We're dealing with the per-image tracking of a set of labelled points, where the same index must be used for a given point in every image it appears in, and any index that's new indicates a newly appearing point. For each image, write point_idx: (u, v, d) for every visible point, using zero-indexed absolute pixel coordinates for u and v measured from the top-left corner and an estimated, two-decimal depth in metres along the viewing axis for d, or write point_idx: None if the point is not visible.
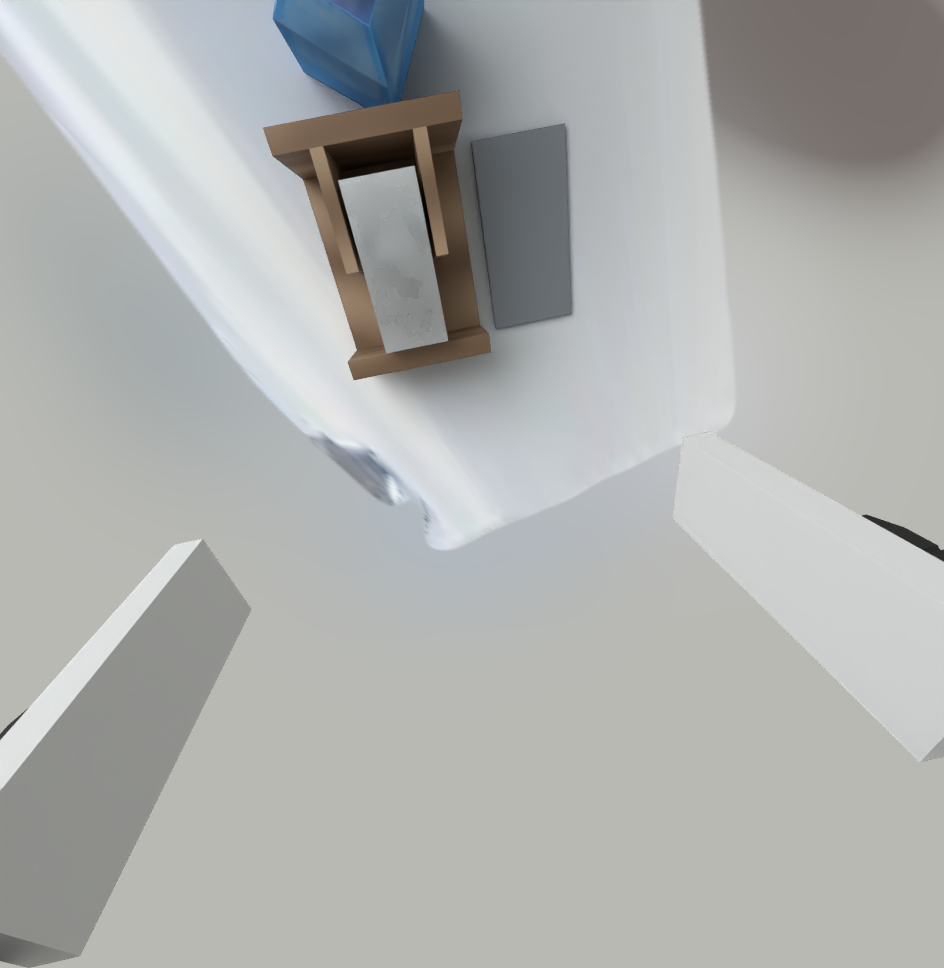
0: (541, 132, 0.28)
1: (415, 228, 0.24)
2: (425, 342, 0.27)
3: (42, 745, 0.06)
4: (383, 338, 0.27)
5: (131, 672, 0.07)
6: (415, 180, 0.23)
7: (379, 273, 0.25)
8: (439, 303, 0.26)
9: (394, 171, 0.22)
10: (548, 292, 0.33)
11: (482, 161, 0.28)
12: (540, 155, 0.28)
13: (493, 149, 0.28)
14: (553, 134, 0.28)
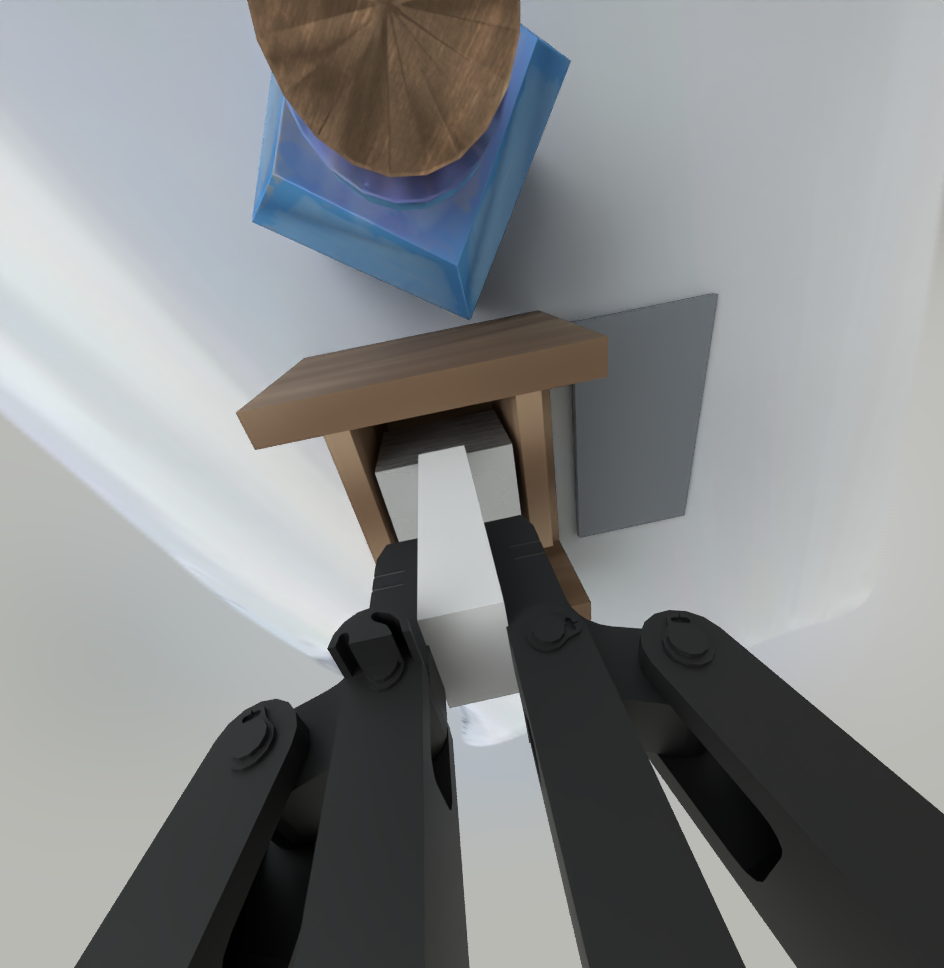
0: (680, 307, 0.18)
1: None
2: None
3: (452, 551, 0.08)
4: None
5: None
6: (511, 462, 0.13)
7: None
8: None
9: (476, 454, 0.12)
10: (657, 494, 0.23)
11: None
12: (674, 337, 0.18)
13: (603, 332, 0.18)
14: (697, 309, 0.18)
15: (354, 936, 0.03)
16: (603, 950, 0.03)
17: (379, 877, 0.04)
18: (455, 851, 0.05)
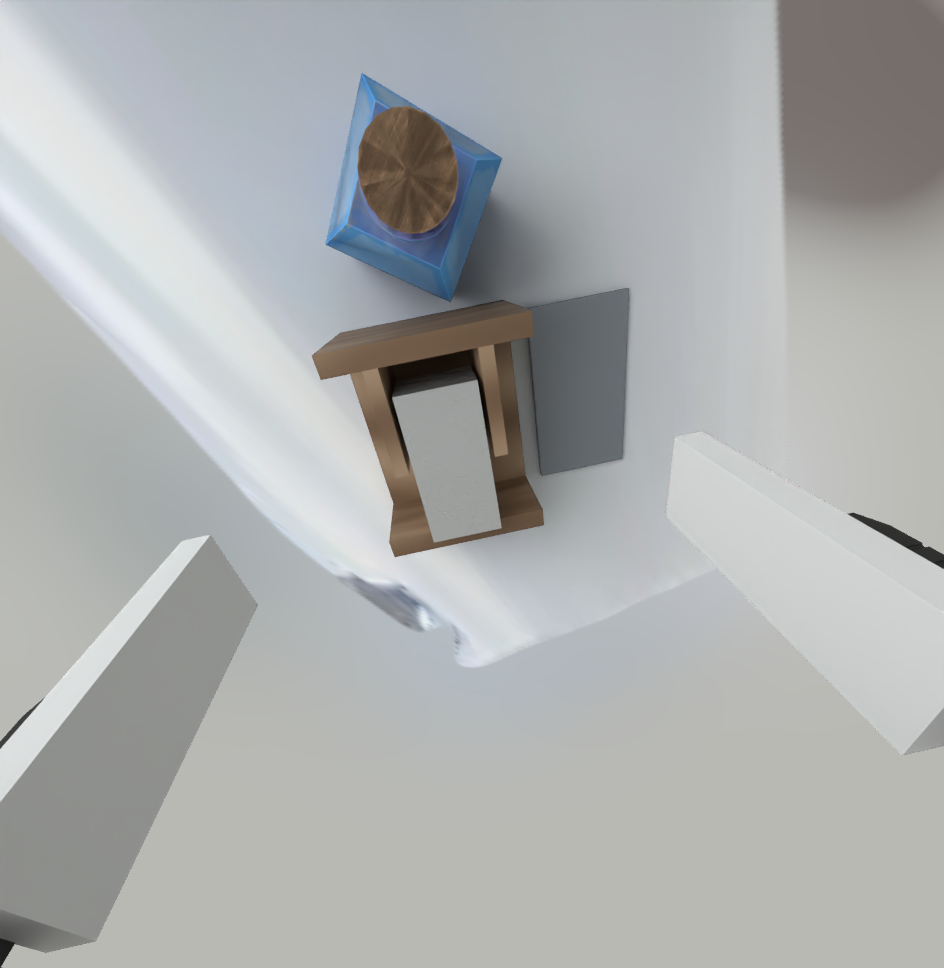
0: (603, 297, 0.25)
1: (474, 434, 0.21)
2: (476, 530, 0.25)
3: (58, 734, 0.06)
4: (431, 530, 0.24)
5: (142, 665, 0.07)
6: (477, 392, 0.20)
7: (431, 475, 0.22)
8: (494, 497, 0.24)
9: (455, 386, 0.20)
10: (599, 441, 0.31)
11: (537, 326, 0.26)
12: (600, 319, 0.26)
13: (549, 315, 0.25)
14: (615, 299, 0.25)
15: None
16: None
17: None
18: None
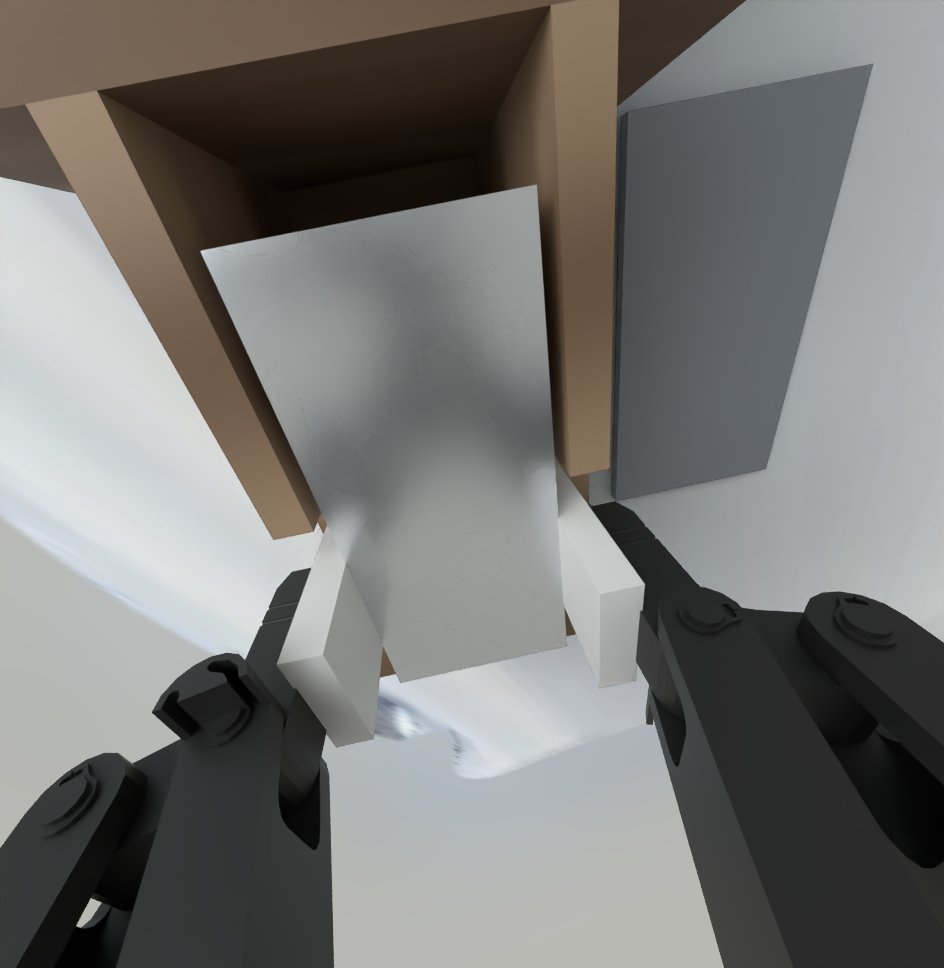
0: (808, 88, 0.10)
1: (512, 406, 0.07)
2: (506, 654, 0.10)
3: (341, 584, 0.07)
4: (393, 659, 0.10)
5: None
6: (533, 245, 0.05)
7: (381, 530, 0.08)
8: (557, 580, 0.09)
9: (449, 210, 0.05)
10: (731, 435, 0.16)
11: (645, 164, 0.11)
12: (790, 150, 0.11)
13: (677, 133, 0.11)
14: (836, 94, 0.11)
15: None
16: (796, 922, 0.03)
17: (196, 945, 0.04)
18: (320, 891, 0.05)
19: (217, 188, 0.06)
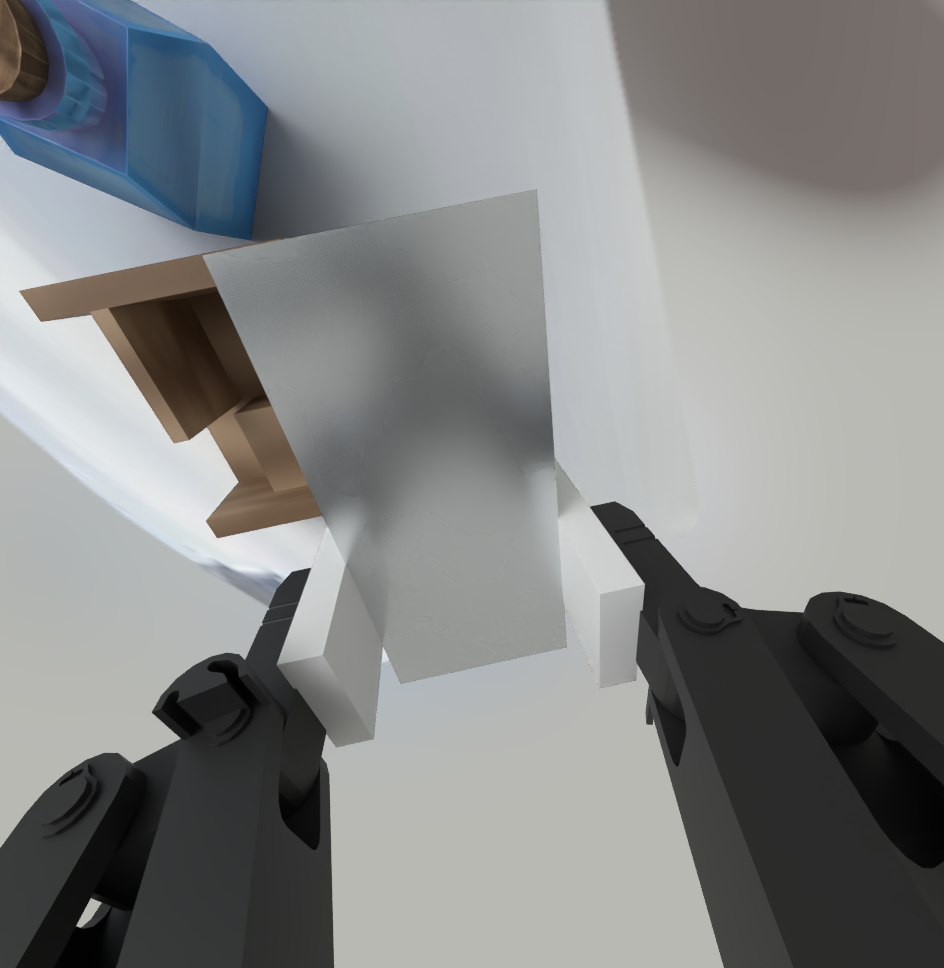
0: None
1: (512, 409, 0.07)
2: (506, 655, 0.10)
3: (341, 584, 0.07)
4: (393, 660, 0.10)
5: None
6: (533, 249, 0.05)
7: (381, 531, 0.08)
8: (557, 581, 0.09)
9: (450, 214, 0.05)
10: None
11: None
12: None
13: None
14: None
15: None
16: (795, 922, 0.03)
17: (196, 944, 0.04)
18: (320, 891, 0.05)
19: (148, 315, 0.18)
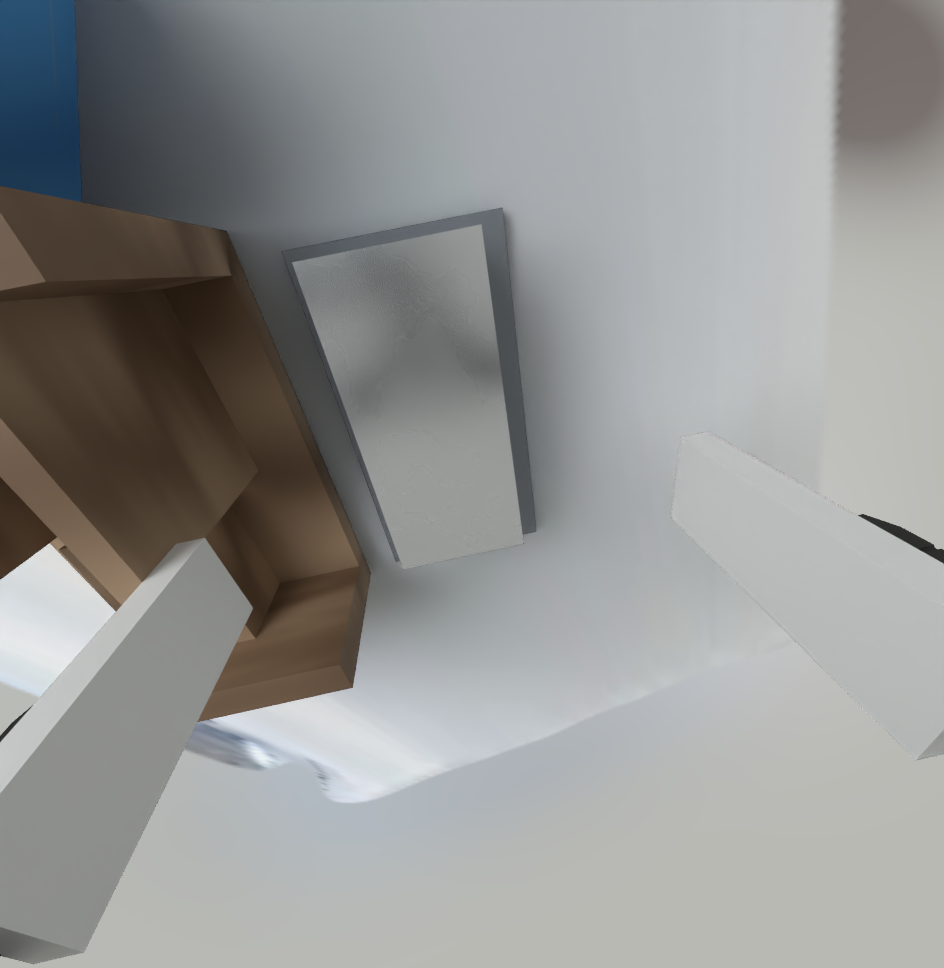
0: (448, 228, 0.12)
1: (474, 358, 0.10)
2: (479, 548, 0.14)
3: (46, 742, 0.06)
4: (398, 548, 0.13)
5: (133, 671, 0.07)
6: (481, 258, 0.09)
7: (391, 444, 0.11)
8: (513, 487, 0.13)
9: (432, 239, 0.09)
10: None
11: None
12: None
13: None
14: None
15: None
16: None
17: None
18: None
19: None
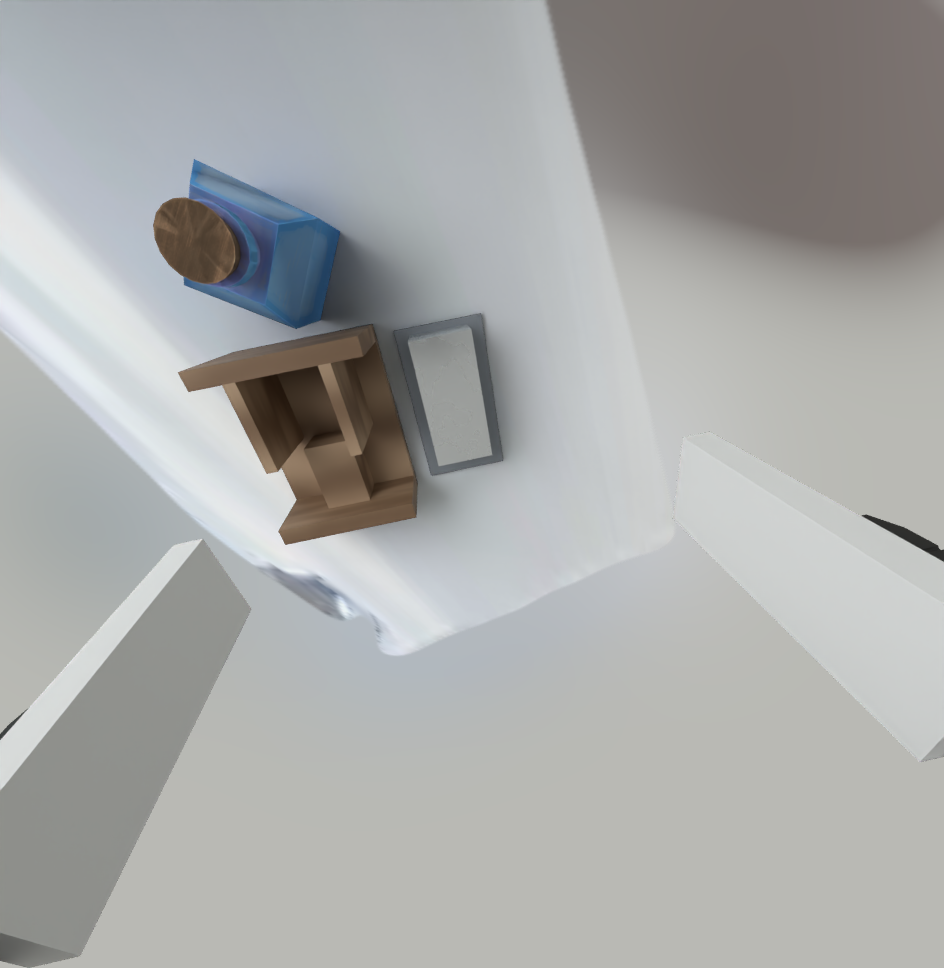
0: (459, 321, 0.30)
1: (469, 373, 0.28)
2: (472, 456, 0.31)
3: (41, 745, 0.06)
4: (437, 455, 0.31)
5: (130, 672, 0.07)
6: (471, 339, 0.27)
7: (436, 407, 0.29)
8: (486, 427, 0.30)
9: (454, 334, 0.27)
10: None
11: (405, 346, 0.30)
12: None
13: None
14: (470, 322, 0.30)
15: None
16: None
17: None
18: None
19: (253, 382, 0.25)
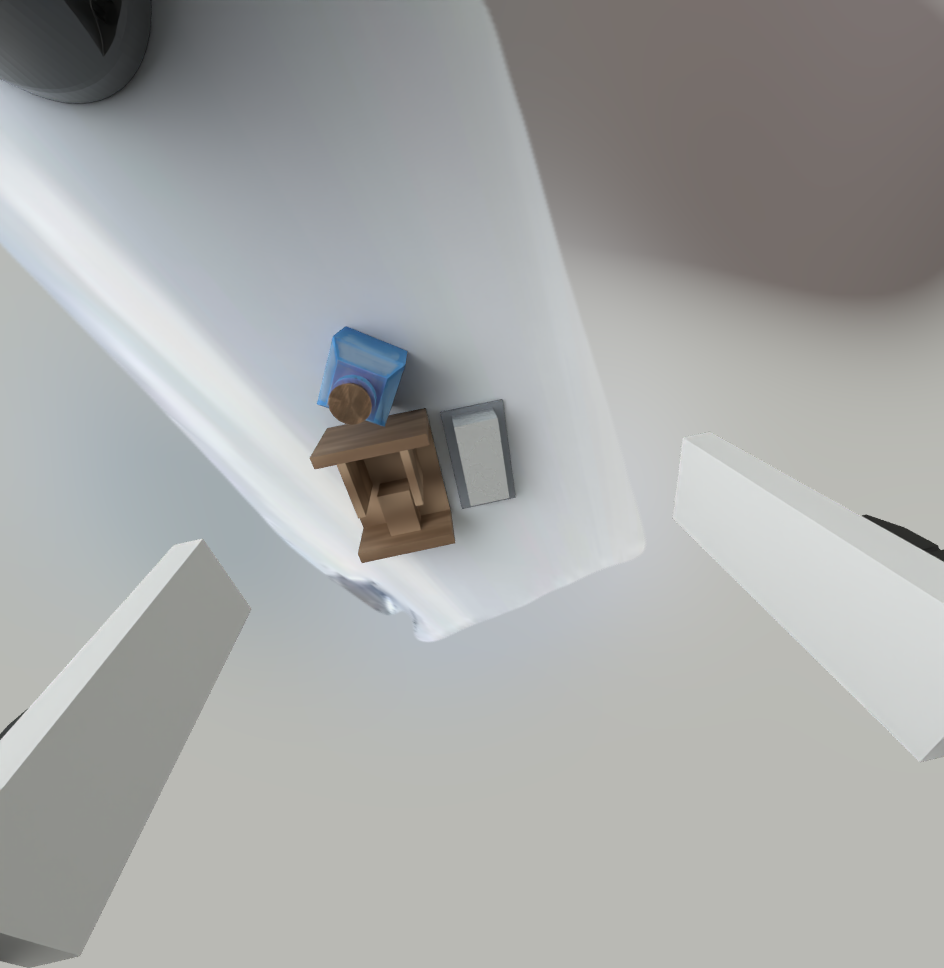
0: (487, 405, 0.42)
1: (495, 445, 0.40)
2: (495, 499, 0.44)
3: (42, 745, 0.06)
4: (470, 498, 0.43)
5: (130, 672, 0.07)
6: (497, 424, 0.39)
7: (471, 467, 0.41)
8: (505, 479, 0.42)
9: (486, 421, 0.39)
10: None
11: (447, 422, 0.42)
12: None
13: None
14: (495, 406, 0.42)
15: None
16: None
17: None
18: None
19: None
